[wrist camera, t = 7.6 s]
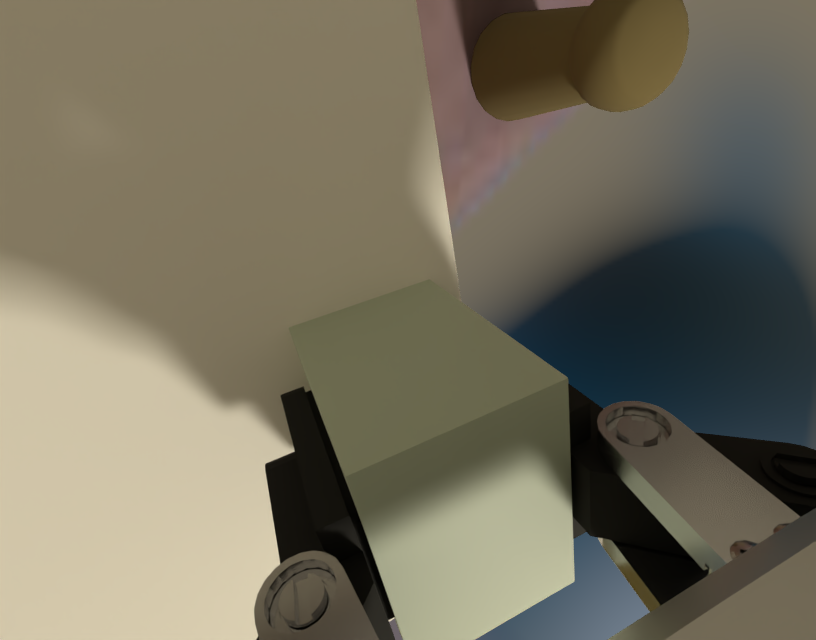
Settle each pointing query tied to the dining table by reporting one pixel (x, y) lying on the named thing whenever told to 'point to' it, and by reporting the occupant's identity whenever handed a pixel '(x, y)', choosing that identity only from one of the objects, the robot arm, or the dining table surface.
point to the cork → (579, 57)
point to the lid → (247, 324)
